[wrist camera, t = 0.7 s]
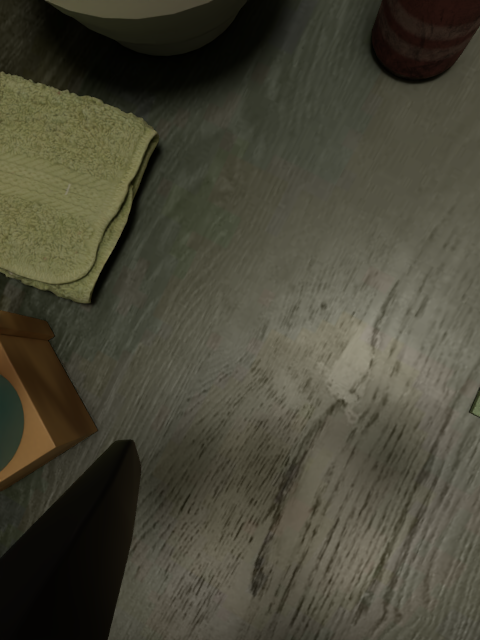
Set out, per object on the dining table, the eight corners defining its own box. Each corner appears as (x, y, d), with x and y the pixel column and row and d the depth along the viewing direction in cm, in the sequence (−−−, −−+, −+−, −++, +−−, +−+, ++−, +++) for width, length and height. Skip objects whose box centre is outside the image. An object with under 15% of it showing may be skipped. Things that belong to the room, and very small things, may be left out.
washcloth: (102, 314, 24) (78, 306, 21) (-137, 231, 26) (-192, 212, 22) (172, 134, 26) (160, 100, 22) (-57, 65, 27) (-99, 24, 24)
